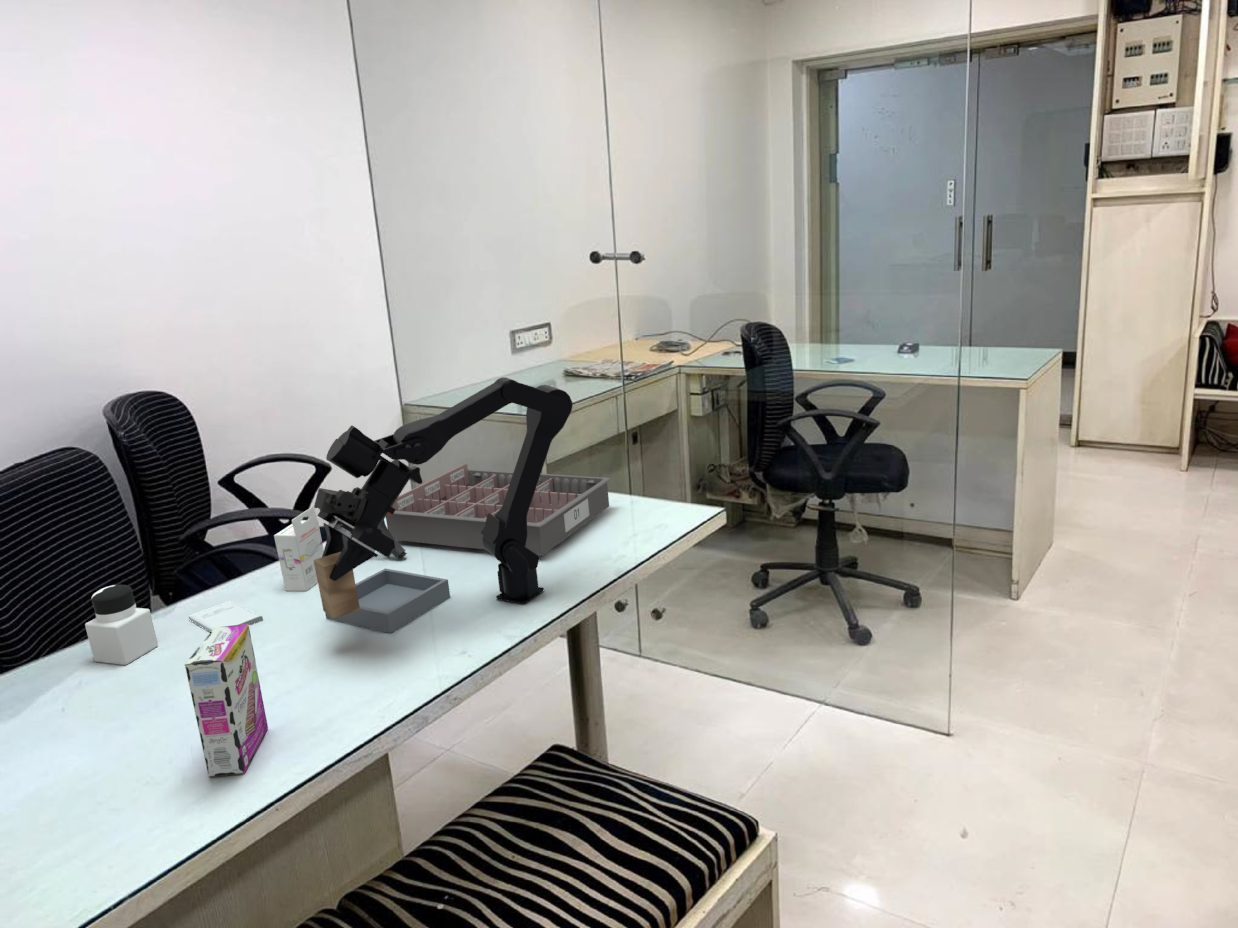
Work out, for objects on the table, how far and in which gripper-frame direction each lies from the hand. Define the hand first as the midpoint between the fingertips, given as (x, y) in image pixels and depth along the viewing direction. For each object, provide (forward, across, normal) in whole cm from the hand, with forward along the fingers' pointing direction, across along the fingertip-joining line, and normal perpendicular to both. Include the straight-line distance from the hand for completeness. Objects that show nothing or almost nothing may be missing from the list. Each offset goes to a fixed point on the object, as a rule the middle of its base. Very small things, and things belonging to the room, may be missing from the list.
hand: (326, 575), depth 147 cm
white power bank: (+18, -28, +2) cm, 33 cm away
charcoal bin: (0, -10, +19) cm, 21 cm away
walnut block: (+4, 0, +6) cm, 7 cm away
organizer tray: (-25, -32, +45) cm, 61 cm away
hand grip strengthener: (-6, -35, +25) cm, 44 cm away
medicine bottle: (+29, -27, -10) cm, 41 cm away
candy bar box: (+25, +19, -6) cm, 32 cm away
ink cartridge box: (+5, -34, +14) cm, 37 cm away
